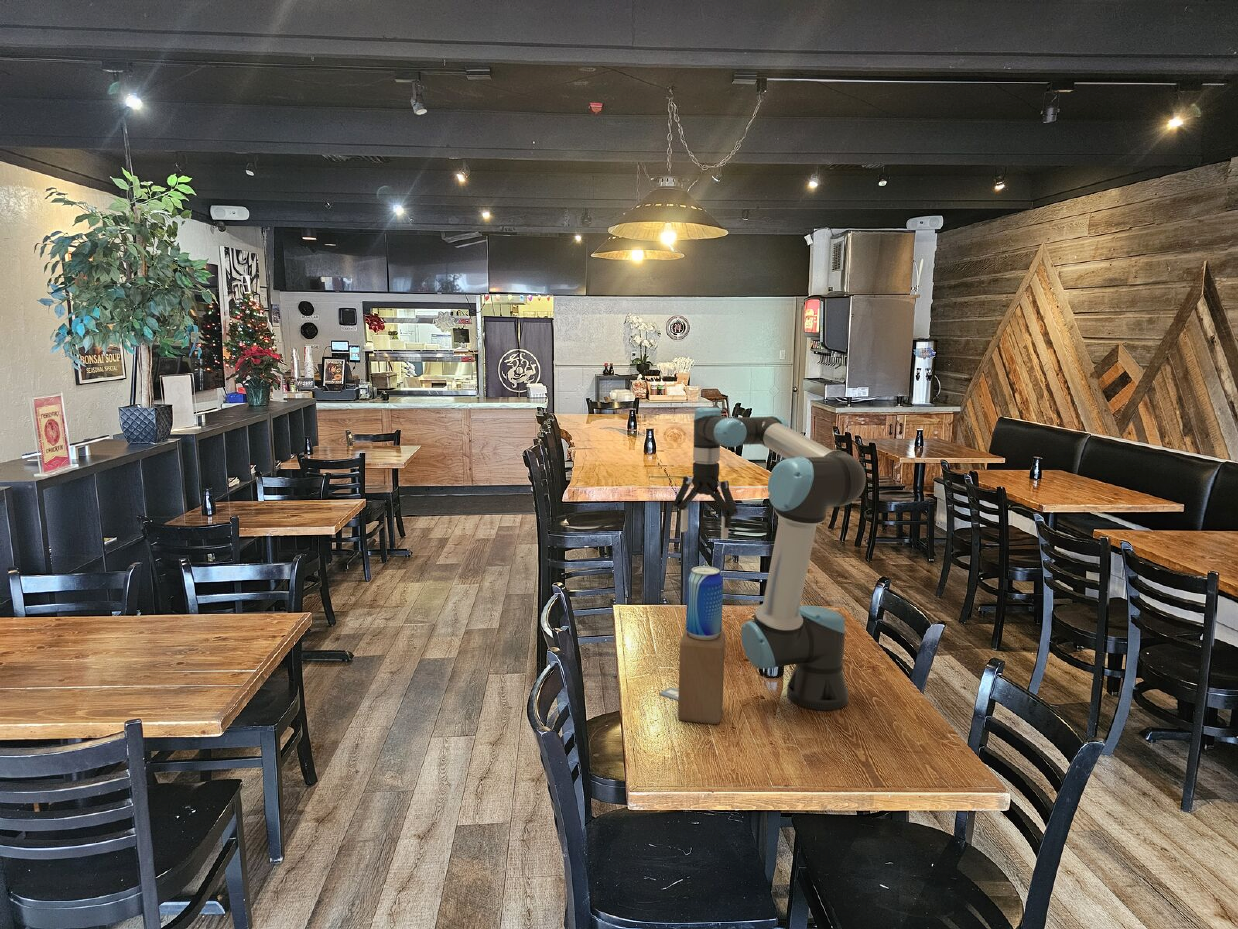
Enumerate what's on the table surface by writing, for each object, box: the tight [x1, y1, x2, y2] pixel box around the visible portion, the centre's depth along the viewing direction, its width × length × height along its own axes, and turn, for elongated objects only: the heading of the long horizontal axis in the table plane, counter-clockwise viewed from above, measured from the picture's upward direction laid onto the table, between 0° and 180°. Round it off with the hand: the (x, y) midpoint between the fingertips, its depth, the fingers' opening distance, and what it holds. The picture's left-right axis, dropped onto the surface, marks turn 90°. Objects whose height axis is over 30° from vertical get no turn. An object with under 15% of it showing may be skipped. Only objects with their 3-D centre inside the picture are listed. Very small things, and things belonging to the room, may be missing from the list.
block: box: [677, 628, 726, 725], centre depth 186 cm, size 10×10×20 cm
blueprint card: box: [658, 686, 679, 702], centre depth 197 cm, size 8×5×1 cm, turn 52°
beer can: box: [685, 565, 724, 640], centre depth 184 cm, size 8×8×16 cm
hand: (703, 535), depth 223 cm, fingers open, 13 cm apart
